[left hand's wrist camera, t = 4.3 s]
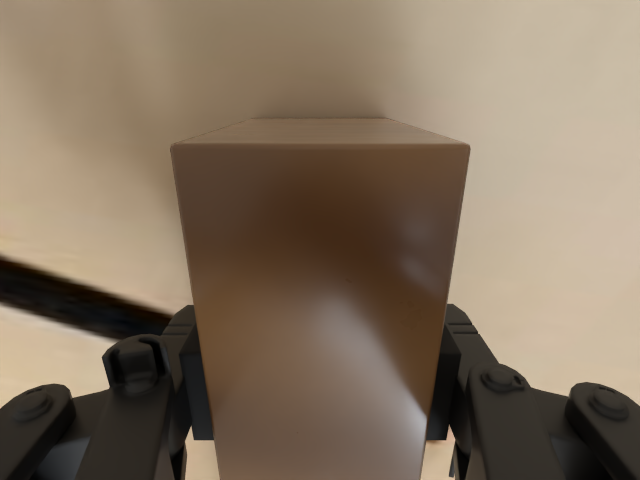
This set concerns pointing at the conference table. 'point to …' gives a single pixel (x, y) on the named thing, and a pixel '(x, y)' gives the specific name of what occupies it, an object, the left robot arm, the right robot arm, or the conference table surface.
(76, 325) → the conference table surface
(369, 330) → the bar
